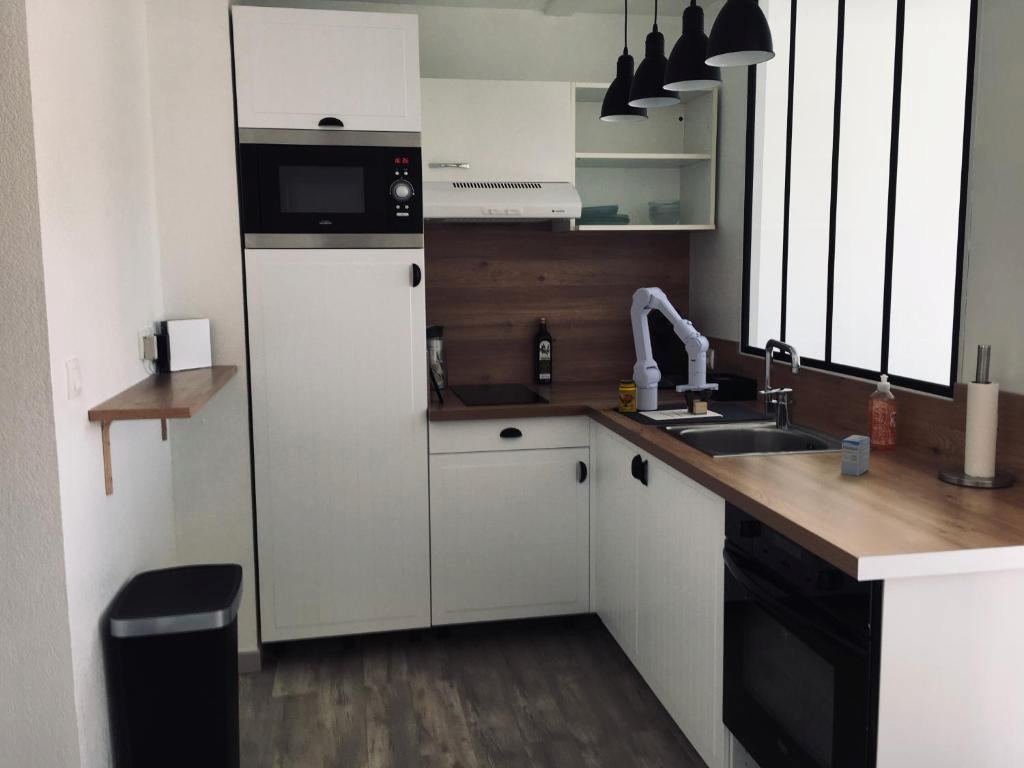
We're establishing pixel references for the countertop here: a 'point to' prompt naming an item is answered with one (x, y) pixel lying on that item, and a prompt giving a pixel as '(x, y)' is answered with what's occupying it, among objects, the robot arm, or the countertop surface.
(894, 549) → the countertop surface
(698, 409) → the cork block
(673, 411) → the board
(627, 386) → the condiment
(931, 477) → the countertop surface
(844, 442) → the medicine box
